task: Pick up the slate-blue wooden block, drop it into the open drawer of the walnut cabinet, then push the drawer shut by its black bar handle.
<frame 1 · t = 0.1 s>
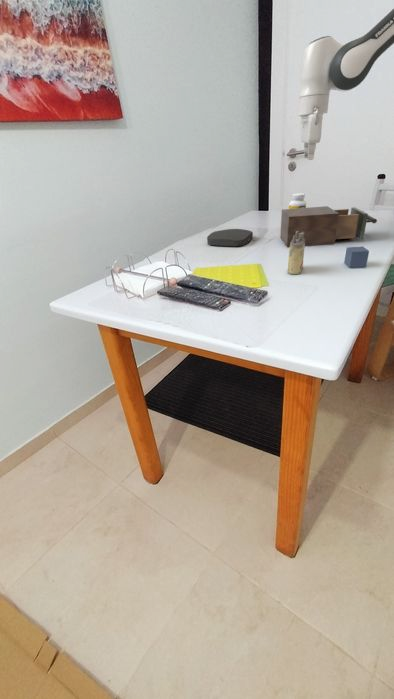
hand: (308, 158, 112), 24 cm above the table, tool pointing down, fingers open, 8 cm apart
media streaming box: (230, 241, 123), on the table
pill bottle: (295, 225, 136), on the table
drawer: (343, 223, 113), point 5 cm above the table, slide at 8.0 cm
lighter: (294, 271, 93), on the table
cabinet: (306, 240, 117), on the table
block: (354, 265, 93), on the table
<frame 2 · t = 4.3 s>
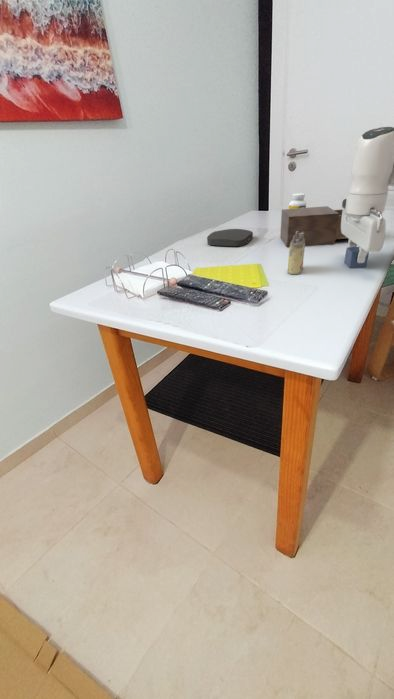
hand: (355, 258, 92), 2 cm above the table, tool pointing down, fingers closed on block, 4 cm apart
block: (354, 265, 93), on the table, touching gripper
everything else where it was.
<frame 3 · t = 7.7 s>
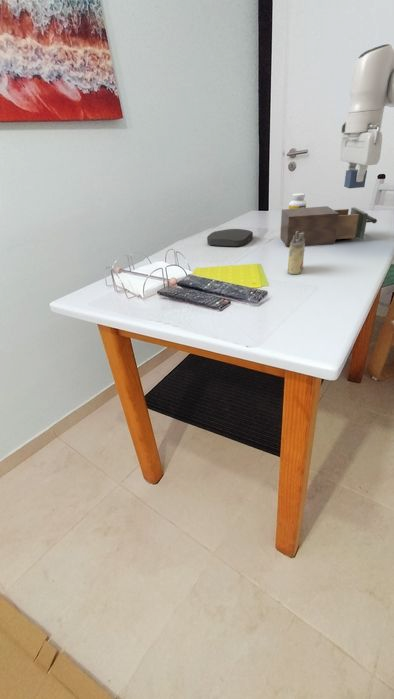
hand: (355, 180, 100), 19 cm above the table, tool pointing down, fingers closed on block, 4 cm apart
block: (353, 186, 100), point 17 cm above the table, touching gripper
everything else where it was.
when the fingers open (9 cm above the table, at t = 11.1 s): block drops 5 cm, resting on drawer.
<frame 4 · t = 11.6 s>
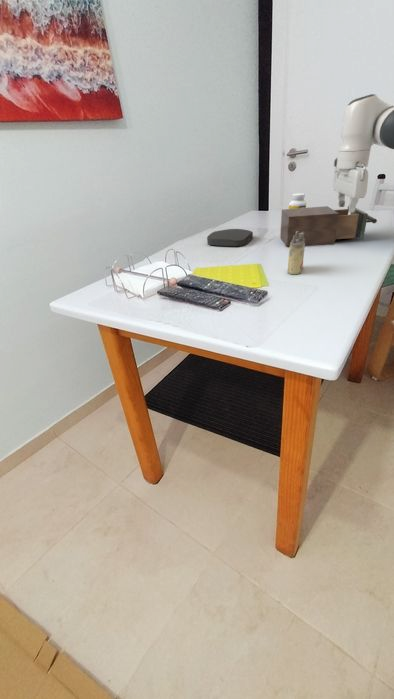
hand: (345, 209, 111), 9 cm above the table, tool pointing down, fingers open, 8 cm apart
drawer: (343, 223, 113), point 5 cm above the table, slide at 8.0 cm, touching block
block: (341, 232, 115), point 2 cm above the table, touching drawer
everything else where it was.
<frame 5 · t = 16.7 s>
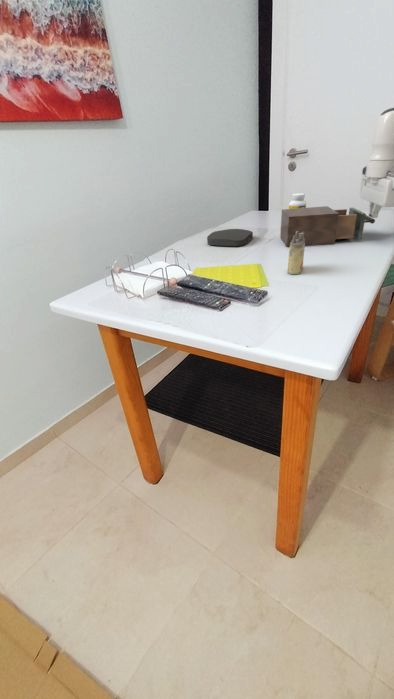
hand: (372, 217, 112), 6 cm above the table, tool pointing down, fingers closed, pressing on drawer
drawer: (341, 223, 113), point 5 cm above the table, slide at 7.4 cm, touching block, gripper
everything else where it was.
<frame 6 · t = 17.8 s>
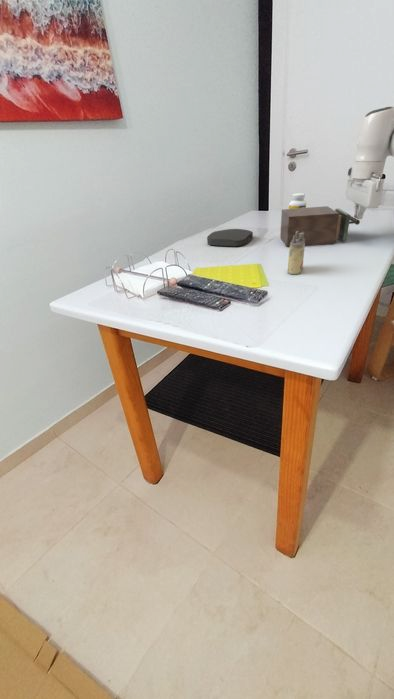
hand: (358, 218, 112), 6 cm above the table, tool pointing down, fingers closed, pressing on drawer
drawer: (327, 224, 114), point 5 cm above the table, slide at 2.6 cm, touching block, gripper
block: (325, 233, 115), point 2 cm above the table, touching drawer
everything else where it was.
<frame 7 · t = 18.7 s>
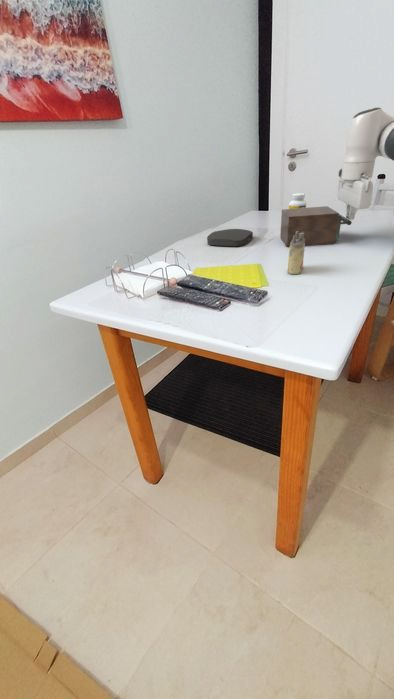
hand: (349, 218, 112), 6 cm above the table, tool pointing down, fingers closed, pressing on drawer
drawer: (319, 225, 114), point 5 cm above the table, slide at 0.0 cm, touching block, cabinet, gripper
block: (317, 233, 115), point 2 cm above the table, touching drawer
everything else where it was.
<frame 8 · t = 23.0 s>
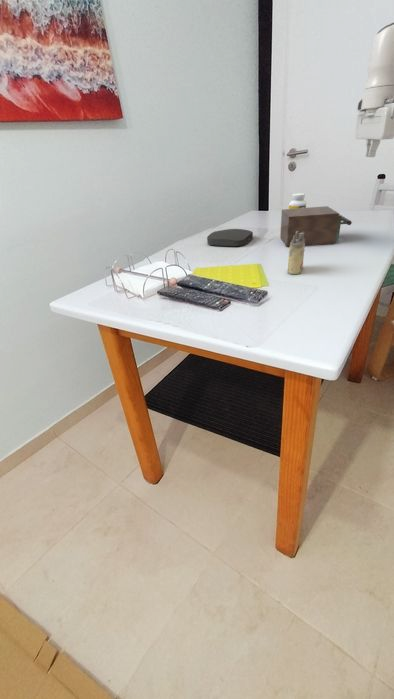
hand: (370, 157, 102), 24 cm above the table, tool pointing down, fingers closed
drawer: (319, 225, 114), point 5 cm above the table, slide at 0.0 cm, touching block, cabinet
everything else where it was.
at the end: block inside the target area in the cabinet (3.8 cm from its centre), point 2.0 cm above the cabinet's base; drawer slide at 0.0 cm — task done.
